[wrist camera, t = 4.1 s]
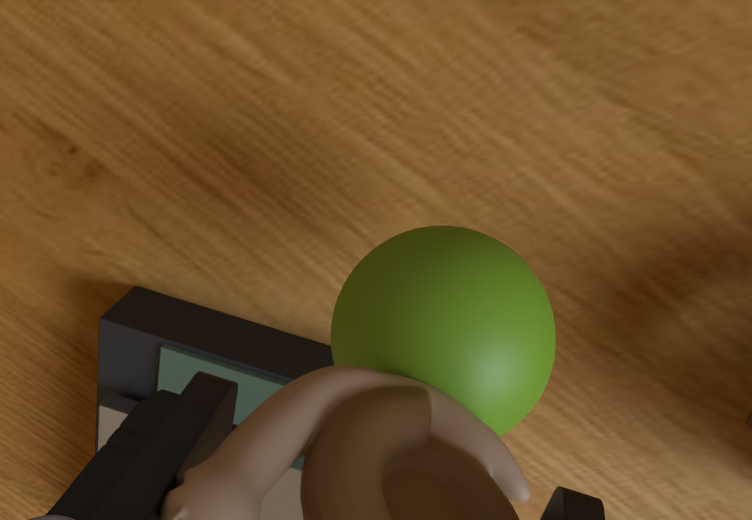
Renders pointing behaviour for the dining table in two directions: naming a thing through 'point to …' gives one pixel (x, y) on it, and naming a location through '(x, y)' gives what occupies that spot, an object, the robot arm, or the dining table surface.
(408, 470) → the snail figurine
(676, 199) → the dining table surface
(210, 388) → the robot arm
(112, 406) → the scale platter
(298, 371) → the scale
